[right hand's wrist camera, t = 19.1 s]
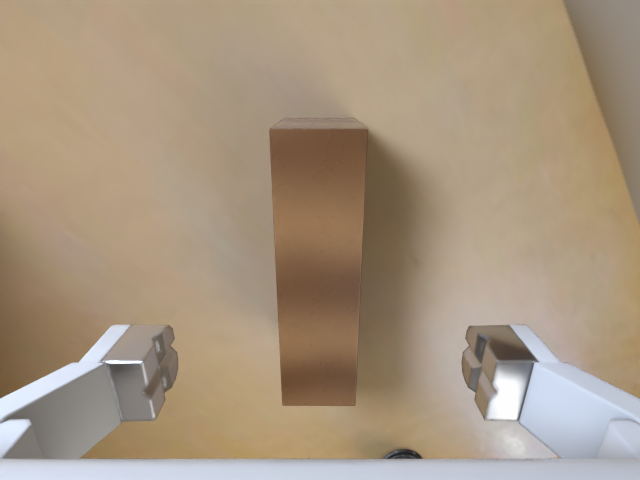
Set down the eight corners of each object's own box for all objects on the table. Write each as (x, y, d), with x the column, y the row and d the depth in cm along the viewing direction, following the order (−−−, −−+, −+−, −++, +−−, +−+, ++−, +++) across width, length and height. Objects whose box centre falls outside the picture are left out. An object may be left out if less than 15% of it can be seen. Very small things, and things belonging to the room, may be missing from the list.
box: (283, 118, 32) (269, 128, 23) (355, 117, 32) (368, 128, 23) (290, 337, 40) (282, 405, 31) (348, 337, 40) (355, 406, 31)
